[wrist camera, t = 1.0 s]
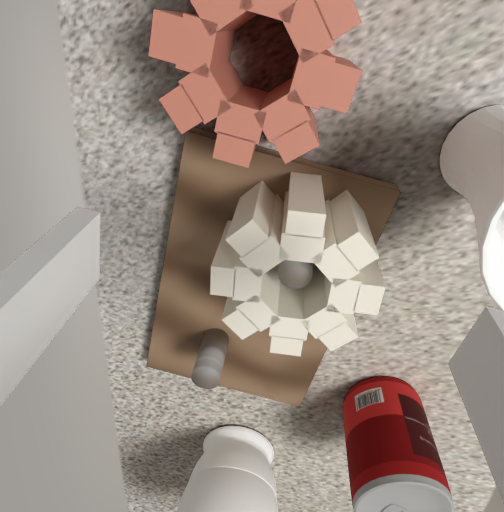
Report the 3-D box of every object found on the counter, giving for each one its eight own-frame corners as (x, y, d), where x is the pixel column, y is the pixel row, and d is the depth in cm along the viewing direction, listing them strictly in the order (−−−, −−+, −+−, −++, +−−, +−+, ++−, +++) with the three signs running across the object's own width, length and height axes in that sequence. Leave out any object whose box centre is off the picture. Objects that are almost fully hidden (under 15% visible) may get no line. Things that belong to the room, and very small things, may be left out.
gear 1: (199, -71, 24) (165, -102, 18) (375, -18, 25) (399, -31, 19) (172, 114, 30) (139, 137, 24) (316, 155, 30) (319, 188, 24)
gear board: (190, 126, 30) (165, 150, 25) (396, 185, 31) (418, 221, 25) (151, 355, 42) (128, 406, 37) (299, 394, 43) (299, 451, 37)
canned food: (330, 416, 44) (338, 524, 34) (360, 364, 40) (378, 471, 30) (397, 434, 44) (424, 547, 35) (433, 385, 40) (474, 497, 31)
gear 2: (230, 165, 30) (212, 201, 24) (382, 181, 29) (404, 223, 23) (224, 289, 35) (208, 344, 29) (352, 305, 35) (363, 364, 29)
